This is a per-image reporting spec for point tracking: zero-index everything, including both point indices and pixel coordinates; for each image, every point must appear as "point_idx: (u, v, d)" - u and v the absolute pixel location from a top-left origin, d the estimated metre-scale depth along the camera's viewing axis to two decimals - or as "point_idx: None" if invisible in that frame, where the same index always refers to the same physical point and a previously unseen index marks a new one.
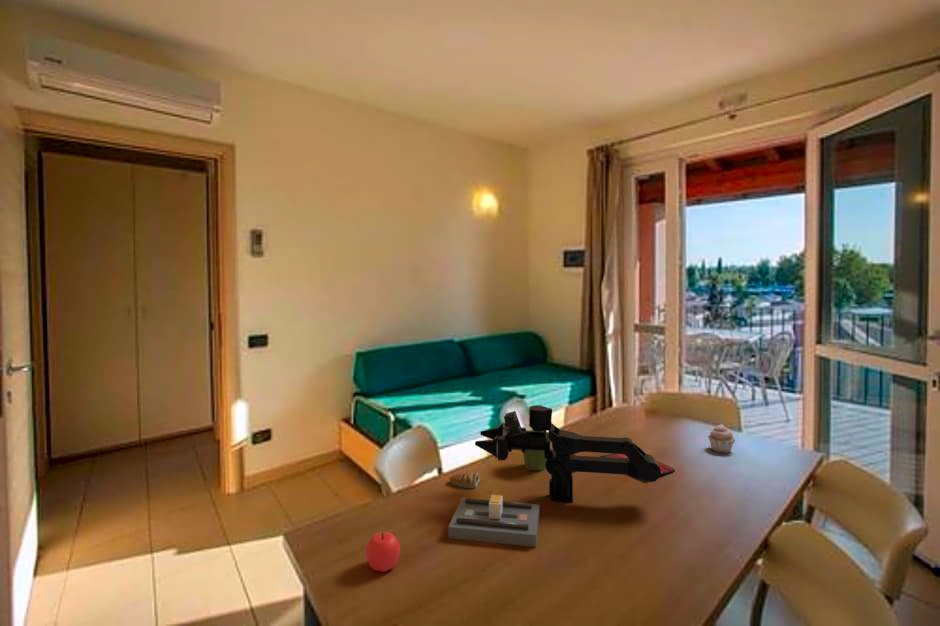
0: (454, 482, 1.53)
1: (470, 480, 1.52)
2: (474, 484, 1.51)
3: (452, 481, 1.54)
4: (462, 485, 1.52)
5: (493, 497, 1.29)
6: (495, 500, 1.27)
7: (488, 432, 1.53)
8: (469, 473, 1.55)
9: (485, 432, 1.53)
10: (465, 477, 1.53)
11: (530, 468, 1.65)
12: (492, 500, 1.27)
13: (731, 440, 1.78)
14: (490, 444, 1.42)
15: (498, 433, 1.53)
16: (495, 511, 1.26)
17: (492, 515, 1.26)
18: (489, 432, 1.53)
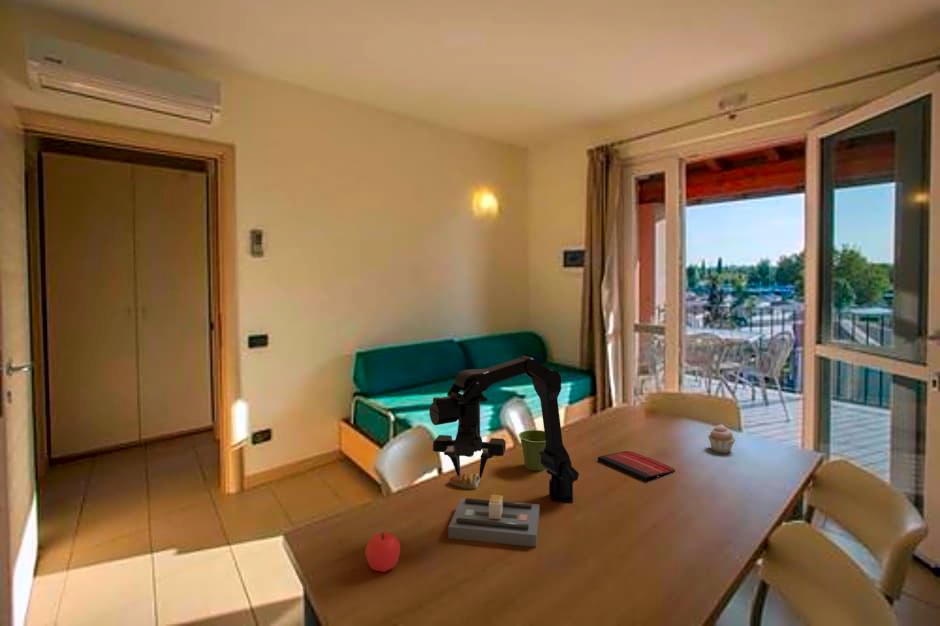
0: (454, 483, 1.53)
1: (470, 481, 1.51)
2: (474, 485, 1.51)
3: (452, 482, 1.53)
4: (462, 486, 1.52)
5: (493, 497, 1.29)
6: (495, 500, 1.27)
7: (458, 466, 1.29)
8: (469, 474, 1.55)
9: (459, 470, 1.29)
10: (465, 478, 1.52)
11: (530, 468, 1.65)
12: (492, 500, 1.27)
13: (731, 440, 1.78)
14: None
15: None
16: (495, 511, 1.26)
17: (492, 515, 1.26)
18: (458, 465, 1.29)
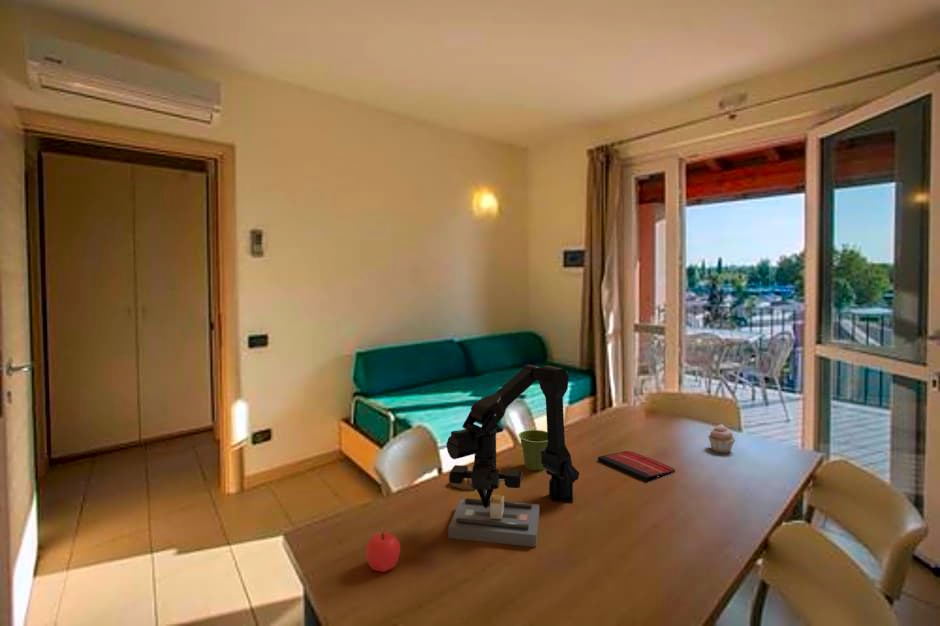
0: (454, 484, 1.52)
1: (470, 482, 1.51)
2: None
3: (452, 483, 1.53)
4: (463, 487, 1.51)
5: (494, 497, 1.29)
6: (496, 500, 1.27)
7: (485, 498, 1.29)
8: None
9: (485, 501, 1.29)
10: (465, 479, 1.52)
11: (530, 468, 1.65)
12: (493, 500, 1.27)
13: (731, 440, 1.78)
14: None
15: None
16: (497, 511, 1.26)
17: (493, 515, 1.26)
18: (485, 496, 1.29)
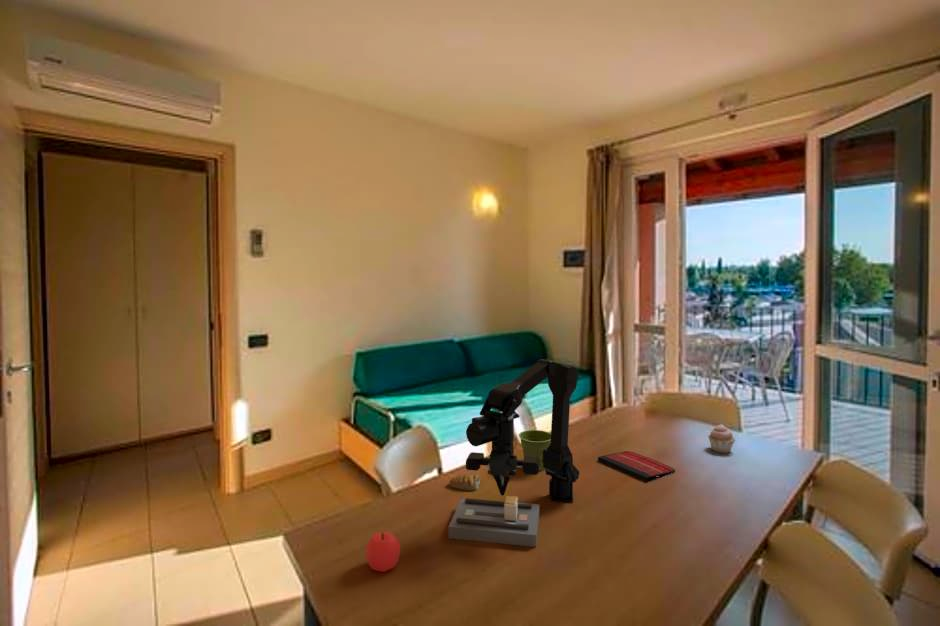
0: (454, 485, 1.51)
1: (471, 483, 1.50)
2: (475, 486, 1.50)
3: (452, 484, 1.52)
4: (463, 488, 1.50)
5: (508, 498, 1.28)
6: (510, 501, 1.26)
7: (501, 485, 1.27)
8: (469, 475, 1.53)
9: (502, 489, 1.27)
10: (466, 479, 1.51)
11: None
12: (507, 501, 1.26)
13: (731, 440, 1.78)
14: None
15: None
16: (511, 512, 1.25)
17: (508, 516, 1.26)
18: (501, 484, 1.27)
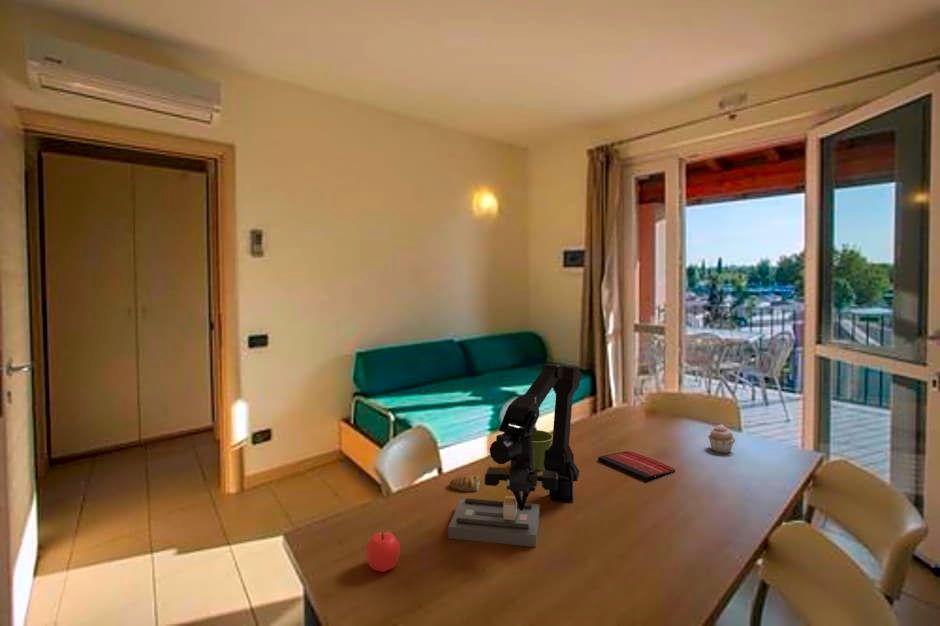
0: (455, 486, 1.51)
1: (471, 483, 1.49)
2: (476, 487, 1.49)
3: (453, 485, 1.51)
4: (463, 489, 1.50)
5: (507, 498, 1.28)
6: (509, 501, 1.26)
7: (520, 501, 1.27)
8: (469, 476, 1.53)
9: None
10: (466, 480, 1.50)
11: None
12: (506, 501, 1.26)
13: (731, 440, 1.78)
14: None
15: None
16: (510, 512, 1.25)
17: (507, 516, 1.26)
18: (520, 499, 1.27)
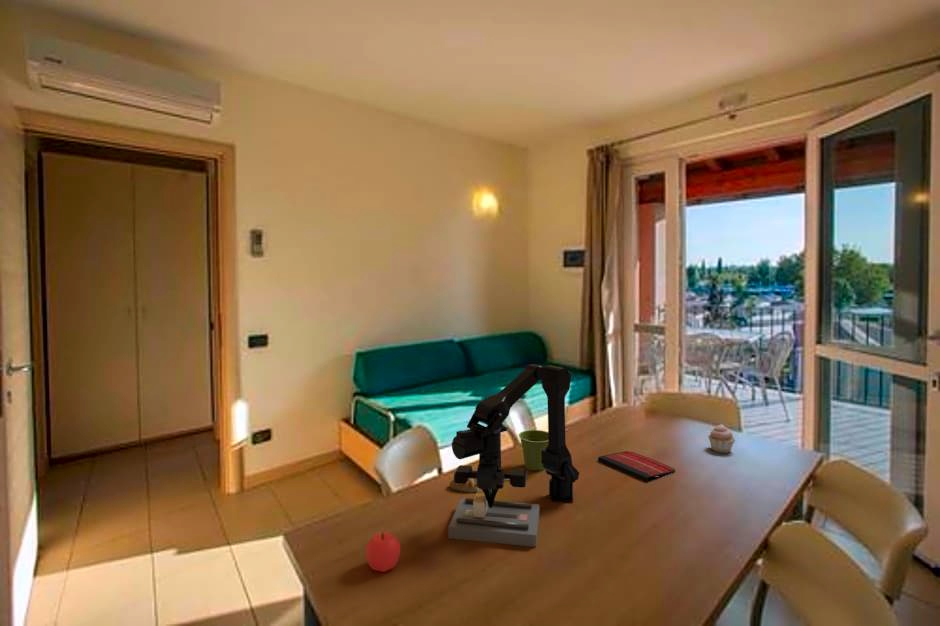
0: (455, 487, 1.50)
1: (472, 484, 1.49)
2: (476, 488, 1.49)
3: (453, 486, 1.50)
4: (464, 489, 1.49)
5: (478, 496, 1.30)
6: (479, 499, 1.28)
7: (490, 498, 1.28)
8: None
9: None
10: None
11: (530, 468, 1.65)
12: (476, 499, 1.28)
13: (731, 440, 1.78)
14: None
15: None
16: (480, 510, 1.27)
17: (476, 514, 1.27)
18: (490, 496, 1.28)
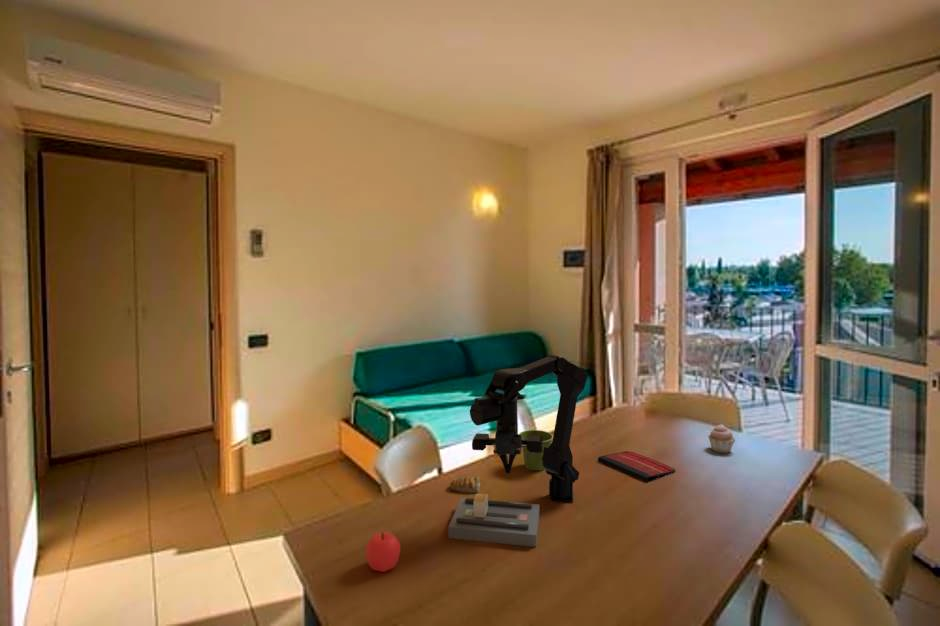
0: (456, 488, 1.49)
1: (472, 485, 1.48)
2: (477, 488, 1.48)
3: (453, 487, 1.50)
4: (464, 490, 1.49)
5: (478, 496, 1.30)
6: (480, 499, 1.28)
7: (507, 464, 1.32)
8: (470, 477, 1.52)
9: None
10: (467, 482, 1.49)
11: (530, 468, 1.65)
12: (477, 499, 1.28)
13: (731, 440, 1.78)
14: None
15: None
16: (480, 510, 1.27)
17: (477, 514, 1.27)
18: (507, 462, 1.32)
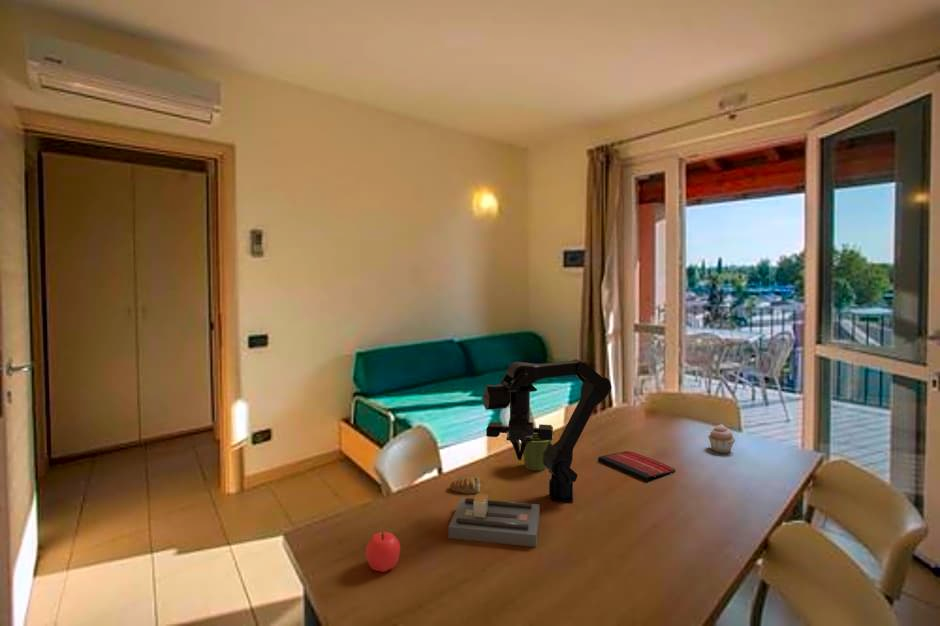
0: (456, 488, 1.49)
1: (473, 485, 1.48)
2: (477, 489, 1.48)
3: (454, 488, 1.49)
4: (465, 491, 1.48)
5: (478, 496, 1.30)
6: (480, 499, 1.28)
7: (519, 451, 1.40)
8: (470, 478, 1.51)
9: (519, 454, 1.40)
10: (467, 482, 1.49)
11: (530, 468, 1.65)
12: (477, 499, 1.28)
13: (731, 440, 1.78)
14: None
15: (517, 440, 1.40)
16: (480, 510, 1.27)
17: (477, 514, 1.27)
18: (518, 449, 1.40)
